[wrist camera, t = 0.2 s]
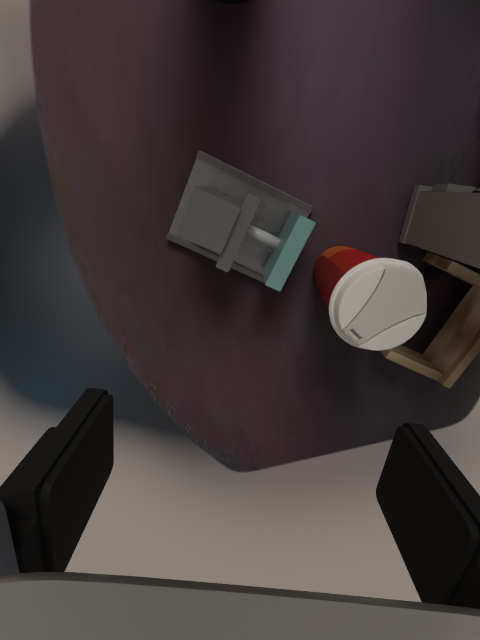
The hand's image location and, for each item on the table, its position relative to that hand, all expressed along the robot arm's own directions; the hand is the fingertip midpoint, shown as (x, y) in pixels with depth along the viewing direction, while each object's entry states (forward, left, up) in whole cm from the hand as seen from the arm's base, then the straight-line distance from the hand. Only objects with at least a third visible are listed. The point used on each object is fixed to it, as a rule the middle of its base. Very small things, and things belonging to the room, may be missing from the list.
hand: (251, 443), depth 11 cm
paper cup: (-3, +10, -30) cm, 32 cm away
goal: (-3, +22, -30) cm, 37 cm away
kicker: (-3, -2, -29) cm, 29 cm away
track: (-3, -3, -30) cm, 30 cm away
